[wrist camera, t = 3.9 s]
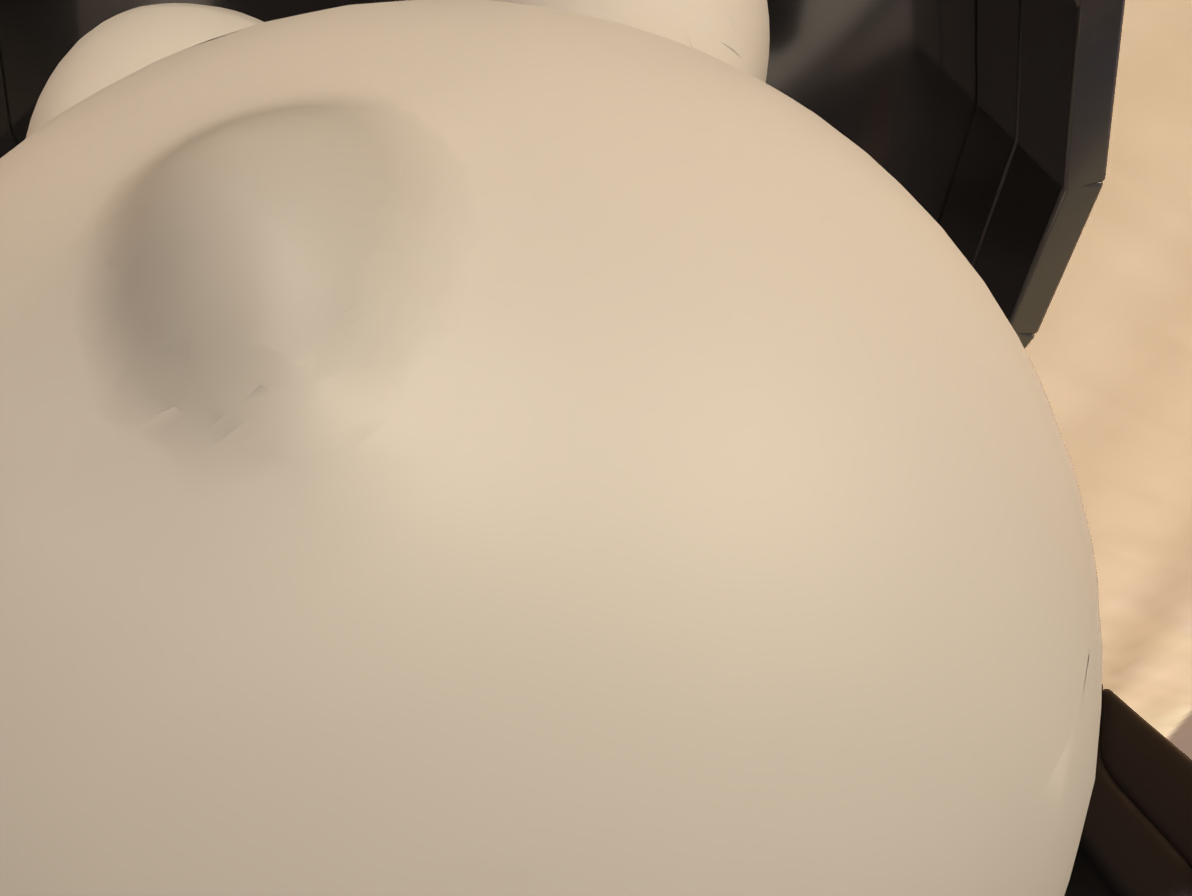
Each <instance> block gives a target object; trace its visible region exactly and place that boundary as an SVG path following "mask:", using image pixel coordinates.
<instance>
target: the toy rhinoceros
mask: <svg viewBox="0 0 1192 896" xmlns="http://www.w3.org/2000/svg"><path fill="white" fill-rule="evenodd" d="M769 42H770V31H769V12H768V4H767V0H406V1H393V2H380V3H367V4H354V5H346V6H340V7H335V8H330V9H325V10H320V11H315V12H310V13H305V14H300V15H295V16H290V17H286V18H281V19H277V20H272V21H267V22H263V21H261V20H259V19H256V18H254V17H252V16H249V15H246V14H244V13H241V12H238V11H234V10H230V9H226V8H221V7H215V6H208V5H200V4H190V3H164V4H154V5H147V6H140V7H137V8H133V9H130V10H127V11H125V12H122V13H120V14H117V15H115V16H113V17H111V18H110V19H108V20H106V21H104V22H102V23H101V24H99V25H98V26H97V27H95V28H94V29H93V30H91V31H90V32H88V33H87V34H86V35H84V36H83V37H82V38H81V39H80V40H79V41H78V42H77V43H76V44H75V45H74V46H73V47H72V49H71V50H70V51H69V52H68V53H67V54H66V55H65V57H64V58H63V59H62V60H61V61H60V62H59V64H58V65H57V67H56V68H55V70H54V71H53V73H52V74H51V76H50V78H49V79H48V81H47V83H46V85H45V87H44V89H43V90H42V92H41V94H40V96H39V98H38V101H37V104H36V106H35V109H34V112H33V114H32V117H31V120H30V124H29V128H28V132H27V135H26V139H25V140H24V141H22V142H21V143H20V144H19V145H17V146H16V147H15V148H13V149H12V150H11V151H9V152H8V153H7V154H5V155H4V156H3V157H1V158H0V896H1064V895H1065V892H1066V889H1067V886H1068V883H1069V880H1070V876H1071V872H1072V869H1073V865H1074V861H1075V857H1076V854H1077V850H1078V846H1079V842H1080V838H1081V834H1082V830H1083V826H1084V822H1085V818H1086V814H1087V810H1088V806H1089V802H1090V798H1091V794H1092V790H1093V786H1094V782H1095V774H1096V763H1097V751H1098V740H1099V728H1100V717H1101V701H1102V637H1101V627H1100V616H1099V596H1098V579H1097V572H1096V565H1095V558H1094V550H1093V544H1092V540H1091V536H1090V531H1089V527H1088V523H1087V519H1086V515H1085V511H1084V507H1083V502H1082V498H1081V494H1080V490H1079V486H1078V482H1077V478H1076V475H1075V472H1074V468H1073V465H1072V462H1071V458H1070V456H1069V453H1068V450H1067V448H1066V445H1065V443H1064V440H1063V437H1062V435H1061V432H1060V429H1059V427H1058V424H1057V422H1056V419H1055V416H1054V414H1053V411H1052V409H1051V406H1050V403H1049V401H1048V398H1047V396H1046V393H1045V391H1044V388H1043V386H1042V384H1041V381H1040V379H1039V377H1038V374H1037V372H1036V370H1035V369H1034V367H1033V365H1032V363H1031V361H1030V359H1029V357H1028V355H1027V353H1026V351H1025V349H1024V347H1023V345H1022V343H1021V341H1020V339H1019V337H1018V335H1017V334H1016V332H1015V331H1014V329H1013V327H1012V326H1011V324H1010V323H1009V321H1008V319H1007V318H1006V316H1005V315H1004V313H1003V311H1002V310H1001V308H1000V307H999V305H998V303H997V302H996V300H995V298H994V297H993V295H992V294H991V292H990V290H989V289H988V287H987V286H986V284H985V282H984V281H983V280H982V278H981V277H980V276H979V275H978V273H977V272H976V271H975V269H974V268H973V267H972V266H971V264H970V263H969V262H968V260H967V259H966V258H965V257H964V255H963V254H962V253H961V251H960V250H959V249H958V248H957V246H956V245H955V244H954V242H953V241H952V240H951V239H950V237H949V236H948V235H947V234H946V232H945V231H944V230H943V228H942V227H941V226H940V225H939V224H938V223H937V222H936V221H935V220H934V219H933V218H932V216H931V215H930V214H929V213H928V212H927V211H926V210H925V209H924V208H923V207H922V206H921V205H920V204H919V203H918V202H917V201H916V200H915V199H914V198H913V196H912V195H911V194H910V193H909V192H908V191H907V190H906V189H905V188H904V187H903V186H902V185H901V184H900V183H899V182H898V181H897V180H896V179H895V178H894V177H892V176H891V175H890V174H889V173H888V172H887V171H886V170H885V169H884V168H883V167H882V166H880V165H879V164H878V163H877V162H876V161H875V160H874V159H873V158H872V157H871V156H870V155H868V154H867V153H866V152H865V151H864V150H863V149H861V148H860V147H859V146H857V145H856V144H855V143H853V142H852V141H851V140H849V139H848V138H847V137H845V136H844V135H843V134H842V133H840V132H839V131H838V130H836V129H835V128H834V127H832V126H831V125H830V124H828V123H827V122H826V121H824V120H823V119H822V118H821V117H819V116H818V115H817V114H815V113H814V112H812V111H811V110H809V109H807V108H806V107H804V106H803V105H801V104H800V103H798V102H796V101H795V100H793V99H792V98H790V97H789V96H787V95H785V94H784V93H782V92H780V91H778V90H777V89H775V88H773V87H772V86H770V85H768V84H766V83H765V82H766V77H767V68H768V59H769Z"/></svg>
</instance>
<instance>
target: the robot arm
mask: <svg viewBox="0 0 1192 896" xmlns="http://www.w3.org/2000/svg"><path fill="white" fill-rule="evenodd" d="M1064 896H1192V760H1191V759H1190V758H1189V757H1188V756H1186V755H1185V754H1184V753H1183V752H1182V751H1180V750H1179V749H1178V748H1177V747H1176V746H1175V745H1173V744H1172V743H1171V742H1170V741H1169V740H1168V739H1166V738H1165V737H1164V736H1163V735H1162V734H1160V733H1159V732H1158V731H1157V730H1156V729H1155V728H1153V727H1152V726H1151V725H1150V724H1149V723H1147V722H1146V721H1145V720H1144V719H1143V718H1142V717H1140V716H1139V715H1138V714H1137V713H1136V712H1135V711H1134V710H1132V709H1131V708H1130V707H1129V706H1128V705H1127V704H1126V703H1124V702H1123V701H1122V700H1121V699H1120V698H1119V697H1118V696H1117V695H1115V694H1114V693H1113V692H1112V691H1111V690H1109V689H1104V690H1103V685H1102V701H1101V717H1100V728H1099V740H1098V751H1097V763H1096V774H1095V782H1094V786H1093V790H1092V794H1091V798H1090V802H1089V806H1088V810H1087V814H1086V818H1085V822H1084V826H1083V830H1082V834H1081V838H1080V842H1079V846H1078V850H1077V854H1076V857H1075V861H1074V865H1073V869H1072V872H1071V876H1070V880H1069V883H1068V886H1067V889H1066V892H1065V895H1064Z"/></svg>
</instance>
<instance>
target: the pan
mask: <svg viewBox="0 0 1192 896" xmlns="http://www.w3.org/2000/svg"><path fill="white" fill-rule="evenodd" d="M393 1H406V0H0V158H1V157H3V156H4V155H5V154H7V153H8V152H9V151H11V150H12V149H13V148H15V147H16V146H17V145H19V144H20V143H21V142H22V141H24V140H25V139H26V135H27V132H28V128H29V124H30V120H31V117H32V114H33V112H34V109H35V106H36V104H37V101H38V98H39V96H40V94H41V92H42V90H43V89H44V87H45V85H46V83H47V81H48V79H49V78H50V76H51V74H52V73H53V71H54V70H55V68H56V67H57V65H58V64H59V62H60V61H61V60H62V59H63V58H64V57H65V55H66V54H67V53H68V52H69V51H70V50H71V49H72V47H73V46H74V45H75V44H76V43H77V42H78V41H79V40H80V39H81V38H82V37H83V36H84V35H86V34H87V33H88V32H90V31H91V30H93V29H94V28H95V27H97V26H98V25H99V24H101V23H102V22H104V21H106V20H108V19H110V18H111V17H113V16H115V15H117V14H120V13H122V12H125V11H127V10H130V9H133V8H137V7H140V6H147V5H154V4H164V3H190V4H200V5H208V6H215V7H221V8H226V9H230V10H234V11H238V12H241V13H244V14H246V15H249V16H252V17H254V18H256V19H259V20H261V21H263V22H267V21H272V20H277V19H281V18H286V17H290V16H295V15H300V14H305V13H310V12H315V11H320V10H325V9H330V8H335V7H340V6H346V5H354V4H367V3H380V2H393ZM767 4H768V12H769V31H770V42H769V59H768V68H767V77H766V82H765V83H766V84H768V85H770V86H772V87H773V88H775V89H777V90H778V91H780V92H782V93H784V94H785V95H787V96H789V97H790V98H792V99H793V100H795V101H796V102H798V103H800V104H801V105H803V106H804V107H806V108H807V109H809V110H811V111H812V112H814V113H815V114H817V115H818V116H819V117H821V118H822V119H823V120H824V121H826V122H827V123H828V124H830V125H831V126H832V127H834V128H835V129H836V130H838V131H839V132H840V133H842V134H843V135H844V136H845V137H847V138H848V139H849V140H851V141H852V142H853V143H855V144H856V145H857V146H859V147H860V148H861V149H863V150H864V151H865V152H866V153H867V154H868V155H870V156H871V157H872V158H873V159H874V160H875V161H876V162H877V163H878V164H879V165H880V166H882V167H883V168H884V169H885V170H886V171H887V172H888V173H889V174H890V175H891V176H892V177H894V178H895V179H896V180H897V181H898V182H899V183H900V184H901V185H902V186H903V187H904V188H905V189H906V190H907V191H908V192H909V193H910V194H911V195H912V196H913V198H914V199H915V200H916V201H917V202H918V203H919V204H920V205H921V206H922V207H923V208H924V209H925V210H926V211H927V212H928V213H929V214H930V215H931V216H932V218H933V219H934V220H935V221H936V222H937V223H938V224H939V225H940V226H941V227H942V228H943V230H944V231H945V232H946V234H947V235H948V236H949V237H950V239H951V240H952V241H953V242H954V244H955V245H956V246H957V248H958V249H959V250H960V251H961V253H962V254H963V255H964V257H965V258H966V259H967V260H968V262H969V263H970V264H971V266H972V267H973V268H974V269H975V271H976V272H977V273H978V275H979V276H980V277H981V278H982V280H983V281H984V282H985V284H986V286H987V287H988V289H989V290H990V292H991V294H992V295H993V297H994V298H995V300H996V302H997V303H998V305H999V307H1000V308H1001V310H1002V311H1003V313H1004V315H1005V316H1006V318H1007V319H1008V321H1009V323H1010V324H1011V326H1012V327H1013V329H1014V331H1015V332H1016V334H1017V335H1018V337H1019V339H1020V341H1021V343H1022V345H1023V347H1024V349H1025V348H1026V346H1027V345H1028V344H1029V343H1030V342H1031V340H1032V339H1033V338H1034V334H1035V333H1037V332H1038V330H1039V327H1040V325H1041V323H1042V321H1043V318H1044V316H1045V314H1046V312H1047V309H1048V307H1049V305H1050V303H1051V300H1052V298H1053V296H1054V294H1055V291H1056V289H1057V287H1058V285H1059V282H1060V280H1061V278H1062V276H1063V273H1064V271H1065V269H1066V267H1067V264H1068V262H1069V260H1070V257H1071V255H1072V253H1073V251H1074V248H1075V246H1076V244H1077V242H1078V239H1079V237H1080V235H1081V233H1082V230H1083V228H1084V226H1085V224H1086V221H1087V219H1088V217H1089V215H1090V212H1091V210H1092V208H1093V206H1094V203H1095V201H1096V199H1097V197H1098V194H1099V192H1100V190H1101V188H1102V184H1103V182H1102V181H1104V179H1105V175H1106V166H1107V157H1108V148H1109V139H1110V130H1111V121H1112V112H1113V103H1114V94H1115V85H1116V77H1117V68H1118V59H1119V50H1120V41H1121V32H1122V23H1123V14H1124V5H1125V0H767Z"/></svg>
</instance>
